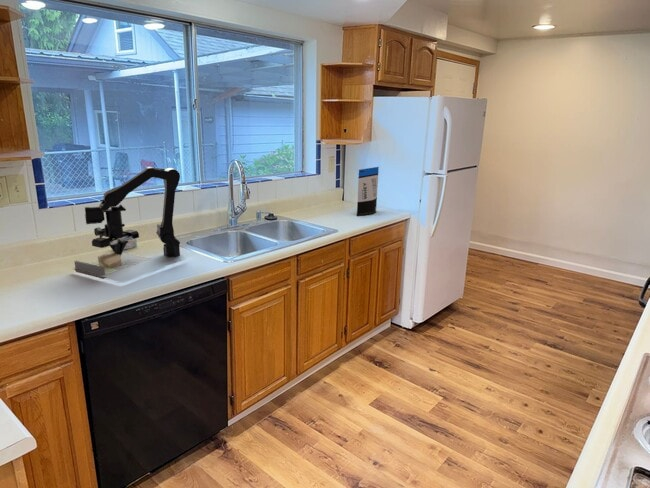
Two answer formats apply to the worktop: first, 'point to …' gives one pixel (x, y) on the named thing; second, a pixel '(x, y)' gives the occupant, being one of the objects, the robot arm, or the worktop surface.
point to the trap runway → (100, 270)
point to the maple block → (109, 260)
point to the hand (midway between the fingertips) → (118, 258)
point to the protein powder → (367, 191)
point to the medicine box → (130, 243)
